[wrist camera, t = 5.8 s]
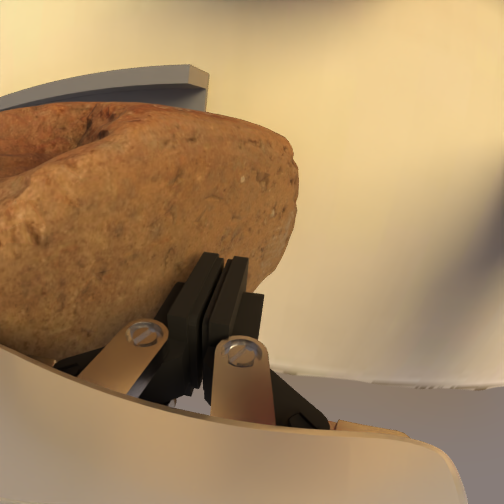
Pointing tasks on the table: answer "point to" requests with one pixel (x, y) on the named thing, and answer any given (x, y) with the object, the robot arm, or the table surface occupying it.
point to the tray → (121, 88)
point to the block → (128, 214)
